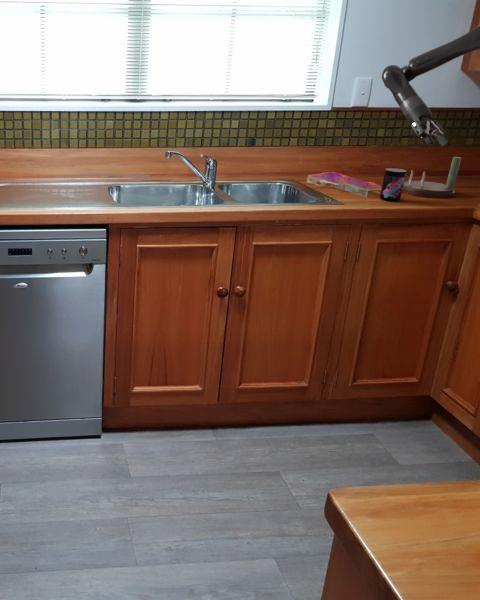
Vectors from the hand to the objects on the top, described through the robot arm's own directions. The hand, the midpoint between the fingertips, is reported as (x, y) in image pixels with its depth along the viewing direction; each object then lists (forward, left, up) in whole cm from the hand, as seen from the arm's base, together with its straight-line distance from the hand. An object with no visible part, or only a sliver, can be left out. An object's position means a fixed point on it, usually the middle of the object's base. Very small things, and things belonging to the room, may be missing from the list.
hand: (438, 144), depth 221 cm
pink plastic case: (+28, +11, -17) cm, 34 cm away
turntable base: (0, +2, -17) cm, 17 cm away
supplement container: (+12, +22, -17) cm, 31 cm away
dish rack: (0, +2, -16) cm, 16 cm away
